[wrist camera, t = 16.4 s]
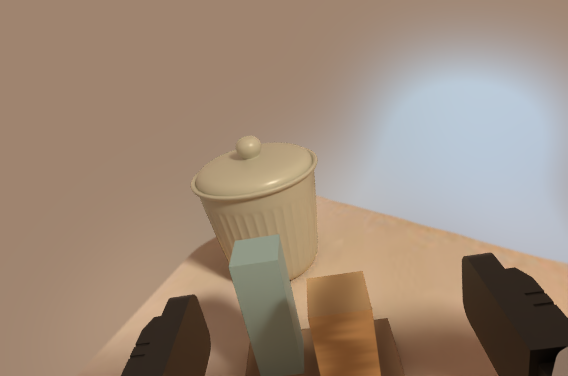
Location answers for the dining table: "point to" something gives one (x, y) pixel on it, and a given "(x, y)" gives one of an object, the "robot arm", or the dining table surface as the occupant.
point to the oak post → (342, 325)
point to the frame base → (284, 315)
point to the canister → (263, 198)
